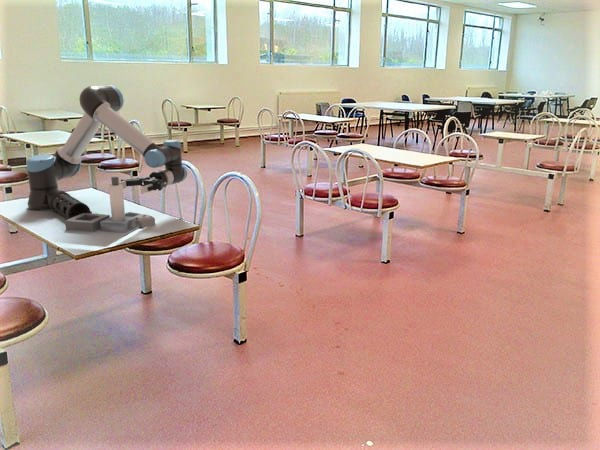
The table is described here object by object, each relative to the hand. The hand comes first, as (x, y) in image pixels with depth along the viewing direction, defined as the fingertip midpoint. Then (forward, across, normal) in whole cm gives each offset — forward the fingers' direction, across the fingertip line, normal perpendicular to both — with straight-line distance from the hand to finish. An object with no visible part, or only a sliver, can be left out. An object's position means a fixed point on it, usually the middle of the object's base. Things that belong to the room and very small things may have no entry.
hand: (127, 188), depth 208 cm
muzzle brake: (-6, +32, -12) cm, 35 cm away
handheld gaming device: (-5, +1, -17) cm, 17 cm away
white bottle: (+7, 0, -11) cm, 13 cm away
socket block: (+10, +13, -16) cm, 23 cm away
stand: (+7, 0, -16) cm, 17 cm away
